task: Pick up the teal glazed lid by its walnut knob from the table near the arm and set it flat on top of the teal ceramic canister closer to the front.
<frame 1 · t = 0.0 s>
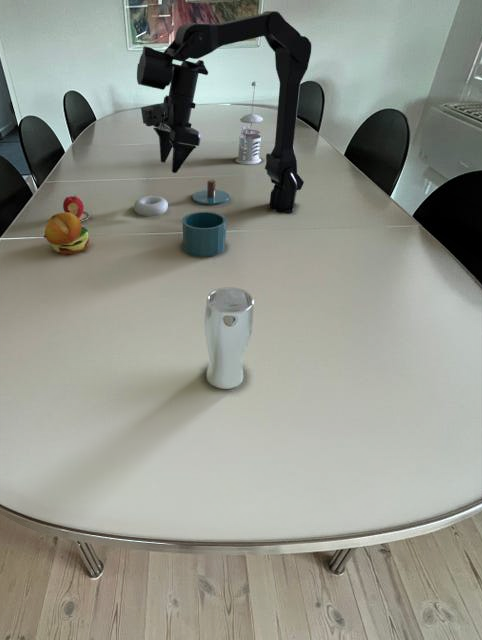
hand: (168, 167, 101), 15 cm above the table, tool pointing down, fingers open, 9 cm apart
french press: (247, 161, 154), on the table
lid: (211, 198, 125), point 1 cm above the table
donut: (151, 212, 120), on the table
beer glass: (224, 377, 67), on the table
cheeseburger: (71, 249, 103), on the table
canister: (203, 247, 102), on the table
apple: (76, 219, 118), on the table
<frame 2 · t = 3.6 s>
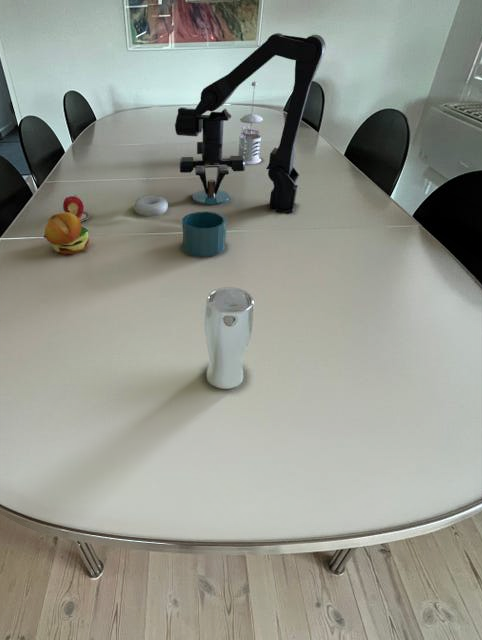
hand: (211, 194, 124), 2 cm above the table, tool pointing down, fingers closed on lid, 2 cm apart
lid: (211, 198, 125), point 1 cm above the table, touching gripper
everything else where it was.
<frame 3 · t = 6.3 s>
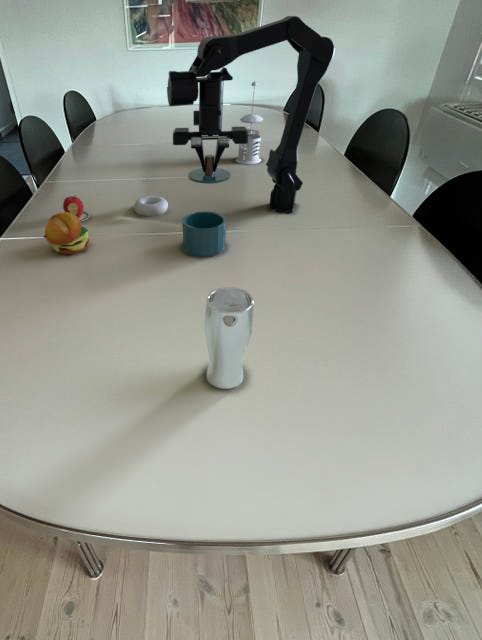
hand: (209, 171, 108), 12 cm above the table, tool pointing down, fingers closed on lid, 2 cm apart
lid: (209, 176, 109), point 11 cm above the table, touching gripper
everything else where it was.
when the fingers open (8 cm above the table, at t = 9.3 s): lid stays where it is, resting on canister.
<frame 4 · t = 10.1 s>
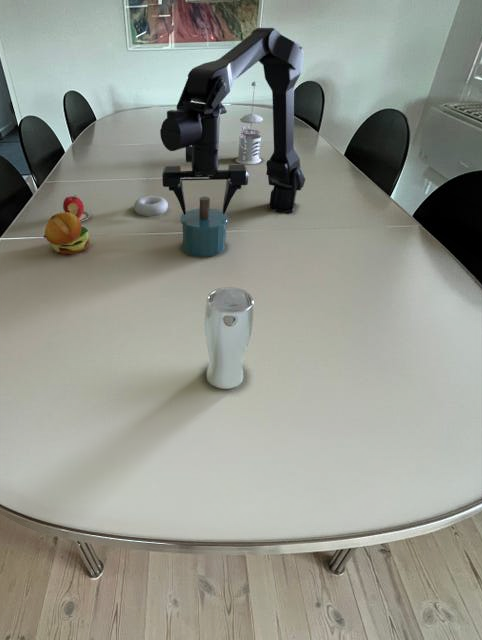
hand: (204, 213, 96), 9 cm above the table, tool pointing down, fingers open, 9 cm apart
lid: (204, 219, 97), point 7 cm above the table, touching canister
everything else where it was.
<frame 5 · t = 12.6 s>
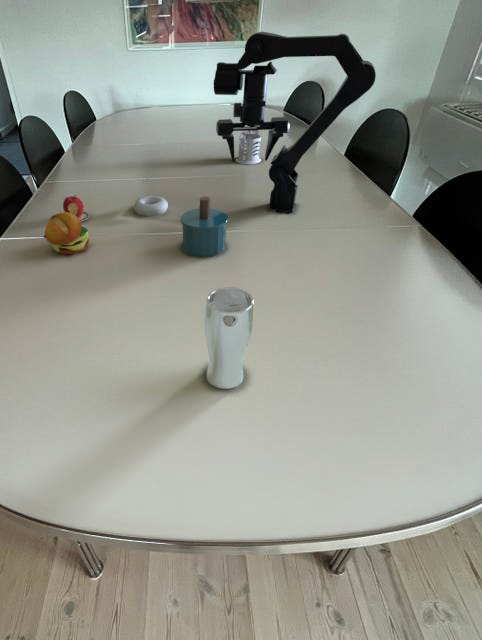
hand: (249, 161, 114), 12 cm above the table, tool pointing down, fingers open, 9 cm apart
nothing on the table moved.
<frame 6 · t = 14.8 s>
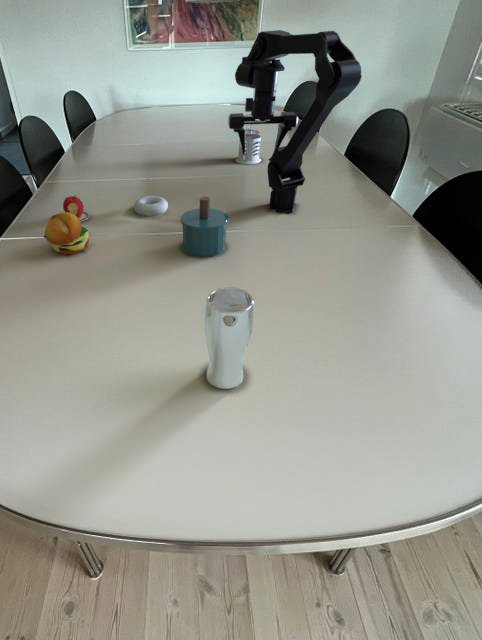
hand: (259, 153, 119), 12 cm above the table, tool pointing down, fingers open, 9 cm apart
nothing on the table moved.
at the end: lid 0.1 cm off-centre on the canister, point 7.0 cm above the canister's base; lid tilted 0° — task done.
